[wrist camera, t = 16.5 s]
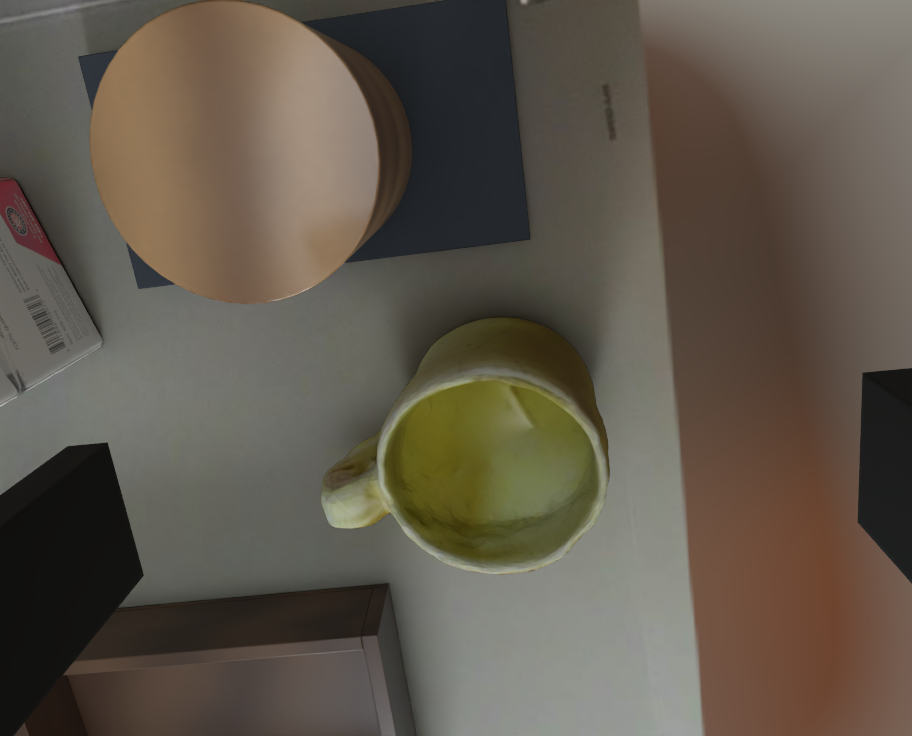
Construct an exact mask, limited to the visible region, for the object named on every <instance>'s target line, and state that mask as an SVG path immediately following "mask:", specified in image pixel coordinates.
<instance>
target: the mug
mask: <svg viewBox="0 0 912 736" xmlns="http://www.w3.org/2000/svg"><path fill="white" fill-rule="evenodd" d="M609 476H610V468H609V458H608V439H607V434H606V429H605V426H604V424H603V420H602V417H601V415H600V413H599V410H598V408H597V405H596V399H595V392H594V386H593V383H592V380H591V377H590V375H589V373H588V371H587V368H586V366H585V365H584V363H583V361H582V360H581V358H580V356H579V354H578V353H577V352H576V351H575V349H574V348H573V347H572V346H571V345H570V344H569V343H568V342H567V341H566V340H565V339H564V338H562V337H561V336H560V335H558V334H557V333H555V332H554V331H552V330H551V329H549V328H547V327H545V326H543V325H541V324H537V323H534V322H531V321H527V320H523V319H519V318H509V317H499V318H486V319H481V320H476V321H473V322H470V323H467V324H464V325H462V326H460V327H458V328H456V329H454V330H452V331H451V332H449V333H447V334H445V335H444V336H443V337H441V338H440V339H438V340H437V341H436V342H435V343H434V344H433V345H432V346H431V347H430V349H429V350H428V352H427V353H426V355H425V356H424V358H423V359H422V361H421V363H420V365H419V367H418V370H417V373H416V375H415V376H414V377H413V378H412V379H411V381H410V382H409V383H408V385H407V386H406V387H405V389H404V390H403V391H402V393H401V394H400V396H399V397H398V398H397V400H396V401H395V403H394V405H393V407H392V408H391V410H390V412H389V414H388V416H387V418H386V420H385V422H384V424H383V426H382V430H380V431H379V432H378V433H377V434H376V435H375V436H373V437H371V438H369V439H366V440H365V441H363V442H361V443H360V444H359V445H358V446H357V447H355V448H354V449H352V450H351V451H350V452H349V454H348V455H347V456H346V457H345V458H344V459H342V460H341V461H339V462H338V463H336V464H335V465H334V466H333V467H332V468H331V469H330V470H328V471H327V472H326V474H325V476H324V478H323V483H322V488H321V502H322V506H323V509H324V512H325V515H326V517H327V520H328V522H329V524H330V525H332V526H334V527H336V528H351V529H352V528H362V527H365V526H369V525H373V524H375V523H376V522H377V521H379V520H380V519H381V518H383V517H384V516H385V515H387V514H390V513H392V514H393V516H394V517H395V518H396V520H397V521H398V523H399V524H400V526H401V528H402V530H403V531H404V533H405V534H406V535H407V536H408V537H409V538H410V539H411V540H413V541H414V542H415V543H416V544H417V545H418V546H419V547H421V548H422V549H424V550H425V551H426V552H428V553H429V554H431V555H433V556H434V557H436V558H437V559H439V560H441V561H443V562H444V563H446V564H448V565H451V566H455V567H457V568H460V569H464V570H468V571H473V572H479V573H493V574H510V573H521V572H529V571H534V570H536V569H539V568H541V567H543V566H546V565H548V564H550V563H552V562H555V561H557V560H559V559H561V558H562V557H563V556H564V555H566V554H567V553H568V552H569V550H570V549H571V548H572V547H573V545H574V544H575V543H576V542H577V541H578V540H579V539H580V538H581V536H582V535H583V534H585V533H586V532H587V531H588V530H589V529H590V528H591V527H592V526H593V525H594V524H595V523H596V520H597V518H598V516H599V514H600V512H601V510H602V508H603V505H604V501H605V497H606V490H607V485H608V482H609Z"/></svg>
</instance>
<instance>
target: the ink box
mask: <svg viewBox="0 0 912 736" xmlns="http://www.w3.org/2000/svg"><path fill="white" fill-rule="evenodd" d="M102 342H103V341H102V338H101V336H100V335H99V333H98V331H97V329H96V327H95V325H94V324H93V322H92V320H91V318H90V316H89V314H88V313H87V311H86V309H85V307H84V305H83V303H82V302H81V300H80V298H79V296H78V294H77V292H76V291H75V289H74V287H73V285H72V283H71V281H70V280H69V278H68V276H67V274H66V272H65V270H64V268H63V267H62V265H61V263H60V261H59V260H58V258H57V256H56V254H55V252H54V250H53V249H52V247H51V245H50V243H49V242H48V239H47V237H46V235H45V234H44V232H43V230H42V228H41V226H40V224H39V223H38V221H37V219H36V217H35V215H34V213H33V212H32V210H31V208H30V206H29V204H28V202H27V200H26V198H25V197H24V195H23V193H22V191H21V189H20V187H19V186H18V184H17V182H16V181H15V180H14V179H12V178H2V179H0V407H1V406H2V405H4V404H6V403H7V402H9V401H11V400H12V399H14V398H16V397H18V396H19V395H21V394H23V393H24V392H26V391H28V390H29V389H31V388H33V387H34V386H36V385H38V384H39V383H41V382H43V381H45V380H46V379H48V378H50V377H51V376H53V375H55V374H56V373H58V372H60V371H61V370H63V369H65V368H66V367H68V366H70V365H71V364H73V363H75V362H77V361H78V360H80V359H81V358H83V357H85V356H86V355H88V354H90V353H91V352H93V351H94V350H96V349H98V348H99V347H101V345H102Z"/></svg>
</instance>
